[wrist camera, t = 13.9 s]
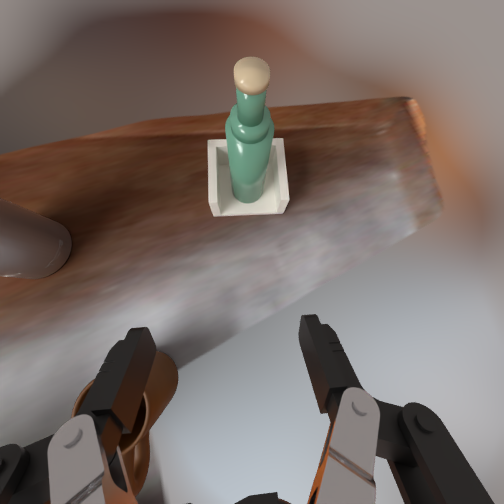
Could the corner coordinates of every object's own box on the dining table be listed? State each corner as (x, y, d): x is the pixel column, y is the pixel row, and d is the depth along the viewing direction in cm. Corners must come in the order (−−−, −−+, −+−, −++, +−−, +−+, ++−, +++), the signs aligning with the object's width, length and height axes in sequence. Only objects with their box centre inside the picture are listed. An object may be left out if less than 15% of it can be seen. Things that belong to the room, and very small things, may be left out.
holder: (283, 213, 35) (289, 199, 30) (213, 216, 35) (208, 202, 30) (277, 159, 38) (283, 138, 33) (212, 161, 37) (207, 139, 32)
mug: (191, 437, 28) (165, 504, 19) (132, 456, 27) (75, 534, 18) (174, 342, 30) (145, 361, 21) (120, 357, 30) (65, 383, 21)
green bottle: (227, 198, 35) (210, 87, 17) (237, 171, 36) (231, 38, 18) (258, 207, 35) (274, 105, 16) (266, 179, 36) (291, 55, 18)
